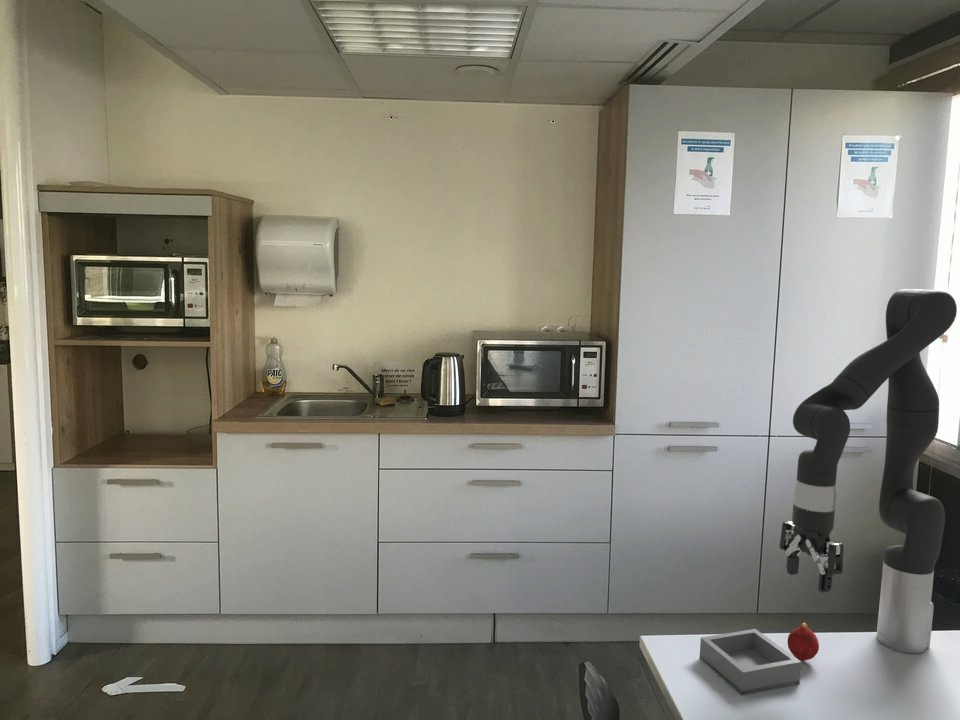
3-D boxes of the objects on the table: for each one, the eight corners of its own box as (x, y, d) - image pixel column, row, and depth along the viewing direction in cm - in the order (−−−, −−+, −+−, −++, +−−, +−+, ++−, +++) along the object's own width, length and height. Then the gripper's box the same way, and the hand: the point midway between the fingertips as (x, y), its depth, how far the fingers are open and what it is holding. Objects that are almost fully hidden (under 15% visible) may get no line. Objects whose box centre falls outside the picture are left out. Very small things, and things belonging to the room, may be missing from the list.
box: (753, 649, 150) (755, 628, 149) (799, 683, 137) (801, 661, 137) (699, 658, 146) (700, 637, 145) (741, 695, 133) (743, 672, 133)
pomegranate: (822, 669, 142) (825, 631, 141) (793, 668, 142) (796, 630, 141) (809, 653, 148) (812, 617, 147) (781, 653, 148) (784, 616, 147)
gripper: (858, 514, 136) (850, 595, 138) (803, 491, 149) (797, 566, 151) (826, 517, 133) (819, 600, 135) (773, 494, 147) (767, 570, 149)
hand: (807, 582), depth 143 cm, fingers open, 8 cm apart
